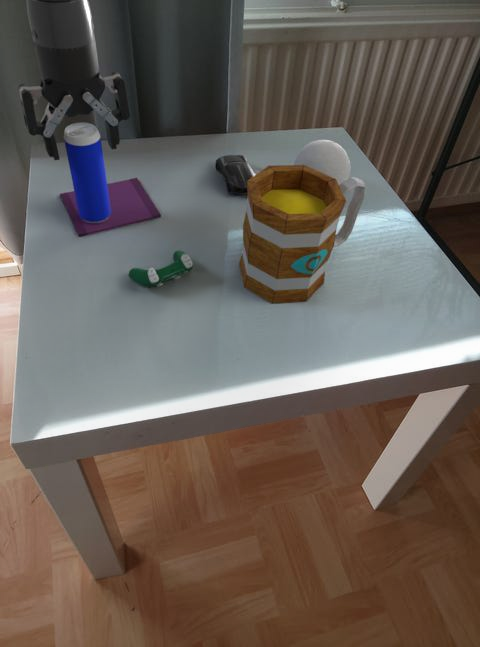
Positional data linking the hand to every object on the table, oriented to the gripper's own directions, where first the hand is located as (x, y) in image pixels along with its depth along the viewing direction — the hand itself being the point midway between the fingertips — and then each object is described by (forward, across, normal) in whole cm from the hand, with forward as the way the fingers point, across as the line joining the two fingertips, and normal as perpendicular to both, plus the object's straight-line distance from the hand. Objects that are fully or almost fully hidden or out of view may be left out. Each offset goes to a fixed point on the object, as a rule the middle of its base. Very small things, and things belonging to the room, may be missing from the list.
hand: (84, 152), depth 75 cm
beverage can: (+12, 0, 0) cm, 12 cm away
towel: (+12, -3, -2) cm, 12 cm away
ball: (+12, -39, +8) cm, 42 cm away
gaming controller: (+12, -5, +18) cm, 22 cm away
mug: (+12, -25, +24) cm, 37 cm away
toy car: (+12, -27, -1) cm, 30 cm away
